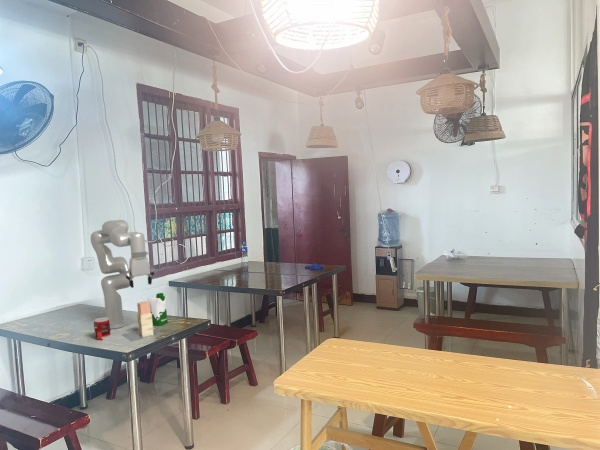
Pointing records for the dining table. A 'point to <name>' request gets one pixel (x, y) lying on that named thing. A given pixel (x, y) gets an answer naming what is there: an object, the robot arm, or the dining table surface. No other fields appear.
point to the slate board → (137, 335)
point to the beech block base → (145, 330)
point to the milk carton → (158, 309)
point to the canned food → (102, 328)
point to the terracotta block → (143, 308)
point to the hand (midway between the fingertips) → (141, 285)
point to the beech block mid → (144, 319)
